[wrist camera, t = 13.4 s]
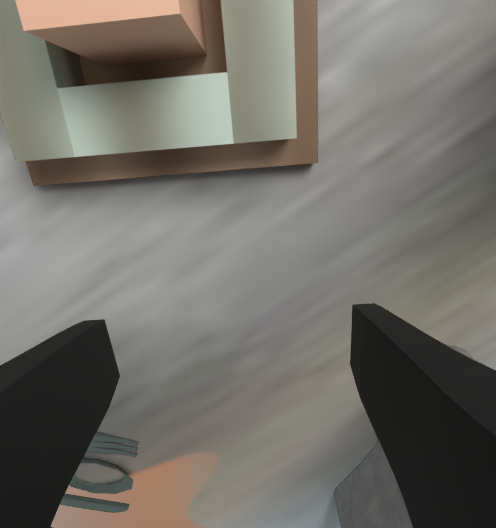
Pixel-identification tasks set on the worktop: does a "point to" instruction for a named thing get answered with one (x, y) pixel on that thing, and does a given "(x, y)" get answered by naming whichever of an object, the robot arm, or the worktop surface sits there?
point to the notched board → (204, 154)
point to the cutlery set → (107, 446)
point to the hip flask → (373, 493)
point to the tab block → (118, 28)
